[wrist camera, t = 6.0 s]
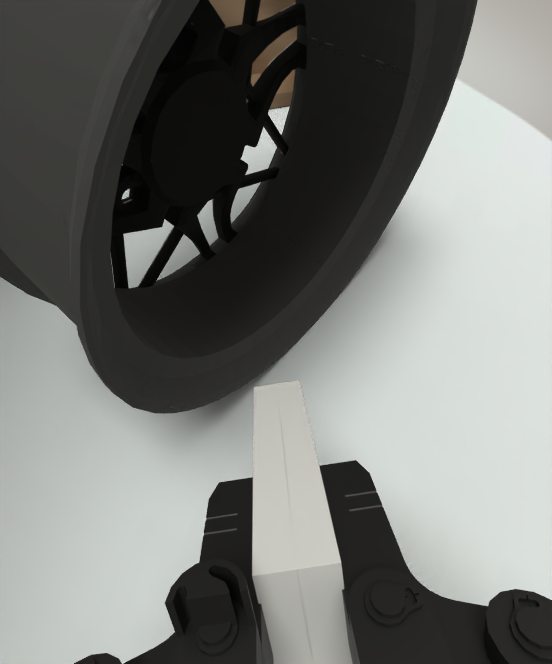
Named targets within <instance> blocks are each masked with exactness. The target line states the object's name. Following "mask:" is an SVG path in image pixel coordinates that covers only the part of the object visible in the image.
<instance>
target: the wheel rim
mask: <svg viewBox="0 0 552 664" xmlns="http://www.w3.org/2000/svg"><path fill="white" fill-rule="evenodd" d="M260 2H261V0H245V7H244V14H243V21H242V24H241V25H236V26H231V27H226V28H225V26H226V25H225V24H224V22H223V21H222V19H221V18H220V16H219V15H218V13H217V12H216V10H215V9H214V7H213V6H212V4H211V3H210V1H209V0H0V277H2V278H3V279H5V280H6V281H8V282H9V283H11V284H12V285H14V286H16V287H17V288H19V289H21V290H22V291H24V292H25V293H27V294H29V295H31V296H34V297H36V298H39V299H41V300H44V301H46V302H49V303H51V304H54V305H56V306H57V307H58V308H59V309H60V310H61V311H62V312H63V313H64V314H65V315H66V316H67V317H68V318H69V319H70V320H72V321H73V322H74V323H75V324H76V325H77V330H78V335H79V338H80V340H81V343H82V345H83V348H84V350H85V353H86V355H87V358H88V360H89V363H90V365H91V366H92V367H93V369H94V370H95V372H96V373H97V374H98V376H99V377H100V379H101V380H102V382H103V383H104V384H105V385H106V386H107V387H108V388H109V389H110V390H111V391H112V392H113V393H114V394H115V395H116V396H118V397H119V398H120V399H122V400H123V401H125V402H126V403H127V404H129V405H130V406H132V407H133V408H137V409H141V410H145V411H149V412H153V413H177V412H183V411H189V410H192V409H195V408H198V407H202V406H205V405H207V404H209V403H212V402H214V401H216V400H219V399H221V398H223V397H224V396H226V395H228V394H230V393H231V392H233V391H235V390H237V389H239V388H240V387H242V386H243V385H245V384H246V383H248V382H249V381H251V380H252V379H253V378H255V377H256V376H258V375H259V374H260V373H262V372H263V371H264V370H265V369H267V368H268V367H269V366H270V365H272V364H273V363H274V362H275V361H276V360H278V359H279V358H280V357H281V356H282V355H283V354H284V353H286V352H287V351H288V350H289V349H290V348H291V347H292V346H293V345H294V344H295V343H296V342H297V341H298V340H299V339H300V338H301V337H302V336H303V335H304V334H305V333H306V332H307V331H308V330H309V329H310V328H311V327H312V326H313V325H314V323H315V322H316V321H317V320H318V319H319V318H320V317H321V316H322V314H323V313H324V312H325V311H326V310H327V309H328V307H329V306H330V305H331V304H332V303H333V301H334V300H335V299H336V298H337V297H338V295H339V294H340V293H341V291H342V290H343V289H344V288H345V286H346V285H347V284H348V282H349V281H350V280H351V278H352V277H353V276H354V274H355V273H356V271H357V270H358V269H359V267H360V266H361V265H362V263H363V262H364V260H365V259H366V257H367V256H368V254H369V253H370V251H371V250H372V248H373V247H374V245H375V244H376V242H377V241H378V239H379V238H380V236H381V234H382V233H383V231H384V230H385V228H386V226H387V225H388V223H389V221H390V220H391V218H392V216H393V215H394V213H395V211H396V209H397V208H398V206H399V204H400V202H401V201H402V199H403V197H404V195H405V193H406V192H407V190H408V188H409V186H410V184H411V182H412V180H413V178H414V176H415V174H416V172H417V170H418V168H419V166H420V164H421V162H422V160H423V158H424V156H425V154H426V151H427V149H428V147H429V145H430V143H431V141H432V138H433V136H434V134H435V132H436V129H437V127H438V124H439V122H440V119H441V117H442V115H443V112H444V110H445V107H446V105H447V102H448V100H449V97H450V94H451V91H452V88H453V85H454V82H455V79H456V77H457V74H458V71H459V68H460V65H461V62H462V59H463V56H464V52H465V48H466V45H467V41H468V38H469V34H470V30H471V27H472V23H473V18H474V14H475V9H476V5H477V0H295V2H296V3H295V4H293V5H291V6H289V7H287V8H285V9H284V10H282V11H280V12H278V13H276V14H275V15H273V16H271V17H269V18H266V19H263V20H260V21H257V19H258V14H259V8H260ZM296 26H297V39H296V40H295V41H293V42H292V43H291V44H290V45H289V46H288V47H287V48H285V49H284V50H283V51H282V52H281V53H280V54H279V55H277V56H276V57H275V58H274V59H273V60H272V61H270V63H269V64H268V66H267V67H266V68H265V70H264V71H263V73H262V74H261V76H260V77H259V78H258V80H257V81H256V83H255V84H254V86H252V84H251V75H252V63H253V62H254V61H255V60H256V59H257V58H258V57H259V56H260V54H261V53H262V52H263V51H264V50H265V49H266V48H267V47H268V46H269V45H270V44H271V43H272V42H274V41H275V40H276V39H277V38H278V37H280V36H281V35H282V34H283V33H285V32H287V31H289V30H290V29H292V28H294V27H296ZM294 69H295V75H294V86H293V94H292V99H291V104H290V108H289V111H288V115H287V119H286V122H285V126H284V129H283V132H282V135H281V134H280V133H279V131H278V129H277V128H276V126H275V125H274V123H273V122H272V120H271V118H270V117H269V115H268V111H269V109H270V106H271V104H272V102H273V100H274V97H275V95H276V93H277V91H278V89H279V88H280V86H281V84H282V82H283V81H284V80H285V78H286V77H287V76H288V75H289V74H290V73H291V72H292V71H293V70H294ZM263 126H264V128H265V129H266V131H267V132H268V134H269V135H270V137H271V138H272V140H273V141H274V143H275V144H276V146H277V149H276V151H275V154H274V156H273V158H272V161H271V163H270V166H269V168H268V169H266V170H262V171H259V172H255V173H252V174H248V175H245V174H246V172H247V170H248V164H247V163H245V162H244V161H242V160H241V157H242V154H243V151H244V147H245V146H246V145H248V146H251V147H256V146H257V144H258V141H259V138H260V135H261V132H262V129H263ZM122 164H123V165H122ZM259 182H261V183H260V185H259V187H258V189H257V190H256V192H255V194H254V195H253V197H252V199H251V200H250V202H249V203H248V205H247V206H246V207H245V209H244V210H243V211H242V212H241V213H240V215H239V216H238V217H237V218H236V219H235V220H234V221H233V223H232V224H231V220H230V213H231V208H232V204H233V201H234V198H235V195H236V193H237V191H238V189H239V188H242V187H246V186H249V185H253V184H256V183H259ZM129 188H130V192H129V197H127V198H125V199H122V195H123V193H124V192H125V191H126V190H127V189H129ZM212 199H213V200H212ZM210 200H212V203H213V217H214V221H215V226H216V230H217V234H218V239H217V240H216V241H215V242H214V243H212V244H211V245H210V246H209V244H208V242H207V240H206V238H205V235H204V233H203V231H202V229H201V226H200V223H199V220H198V217H197V215H198V214H199V212H200V211H201V210H202V208H203V207H204V206H205V205H206V203H207V202H208V201H210ZM164 219H166V220H167V221H168V222H170V223H171V224H172V225H173V226H174V227H173V229H172V230H171V232H170V234H169V235H168V237H167V239H166V240H165V242H164V244H163V245H162V247H161V249H160V251H159V252H158V254H157V256H156V257H155V259H154V261H153V262H152V264H151V266H150V267H149V269H148V271H147V273H146V274H145V276H144V278H143V279H142V281H141V283H140V284H139V286H138V287H135V288H129V289H128V279H127V268H126V258H125V247H124V237H123V234H125V233H131V232H136V231H142V230H147V229H153V228H159V227H162V226H163V222H164ZM184 234H185V235H186V236H187V237H188V238H189V239H190V240H192V242H193V243H194V244H195V246H196V247H197V249H198V250H199V252H200V254H199V255H198V256H197V257H195V258H194V259H192V260H191V261H190V262H188V263H187V264H186V265H184V266H183V267H181V268H180V269H178V270H177V271H175V272H174V273H172V274H170V275H168V276H167V277H165V278H163V279H160V280H157V278H158V277H159V275H160V273H161V272H162V270H163V268H164V267H165V265H166V263H167V261H168V260H169V258H170V256H171V255H172V253H173V251H174V250H175V248H176V246H177V245H178V243H179V241H180V240H181V238H182V236H183V235H184ZM110 252H111V256H110ZM111 260H112V265H111ZM112 268H113V273H112ZM113 276H114V281H113ZM156 280H157V281H156ZM114 284H115V288H114Z"/></svg>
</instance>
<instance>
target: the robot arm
mask: <svg viewBox="0 0 552 664" xmlns="http://www.w3.org/2000/svg"><path fill="white" fill-rule="evenodd" d="M206 518H207V520H206V522H205V529H204V536H203V542H202V549H201V555H200V562H199V563H198V564H195V565H194V566H192V567H191V568H190V569H188V570H187V571H185V572H184V573H182V575H181V576H180V577H179V578H178V579H177V581H176V582H175V583H174V584H173V586H172V587H171V589H170V592H169V594H168V597H167V599H166V602H165V605H166V607H167V610H168V613H169V616H170V619H171V621H172V624H173V627H174V630H175V633H174V634H173V635H171V636H170V637H169V638H168V639H167V640H166V641H164V642H163V643H161V644H160V645H158V646H156V647H155V648H153V649H151V650H149V651H147V652H145V653H143V654H141V655H139V656H137V657H135V658H133V659H131V660H129V661H128V662H126V663H124V664H552V600H550V599H548V598H546V597H544V596H541V595H539V594H537V593H535V592H530V591H524V590H518V589H514V590H508V591H503V592H500V593H499V594H498V595H496V596H495V597H494V598H493V599H492V600H490V602H489V605H488V606H482V605H477V604H471V603H466V602H460V601H455V600H451V599H448V598H444V597H441V596H439V595H437V594H435V593H434V592H432V591H430V590H428V589H427V588H426V587H424V586H423V585H422V584H421V583H419V582H418V581H417V579H416V578H415V577H414V576H413V575H412V574H411V572H410V571H409V569H408V567H407V565H406V563H405V561H404V558H403V556H402V553H401V551H400V548H399V546H398V543H397V541H396V538H395V536H394V533H393V531H392V528H391V526H390V523H389V521H388V518H387V516H386V513H385V511H384V508H383V507H382V503H381V501H380V498H379V496H378V493H377V492H376V488H375V486H374V483H373V481H372V478H371V476H370V473H369V472H368V471H367V470H366V469H365V468H363V467H362V466H361V465H360V464H359V463H358V462H357V461H356V460H355V461H348V462H342V463H335V464H329V465H322V466H319V463H318V459H317V454H316V450H315V446H314V441H313V437H312V432H311V428H310V424H309V419H308V415H307V411H306V406H305V402H304V397H303V393H302V389H301V384H300V380H296V381H290V382H283V383H277V384H270V385H264V386H257V387H254V429H253V477H252V478H246V479H239V480H232V481H226V482H219V484H218V485H217V487H216V489H215V490H214V492H213V493H212V495H211V497H210V498H209V502H208V509H207V515H206ZM74 664H122V663H121V662H120V660H119V658H116V657H114V656H112V655H110V654H108V653H104V654H94V655H90V656H88V657H86V658H84V659H82V660H80V661H78V662H76V663H74Z"/></svg>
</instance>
